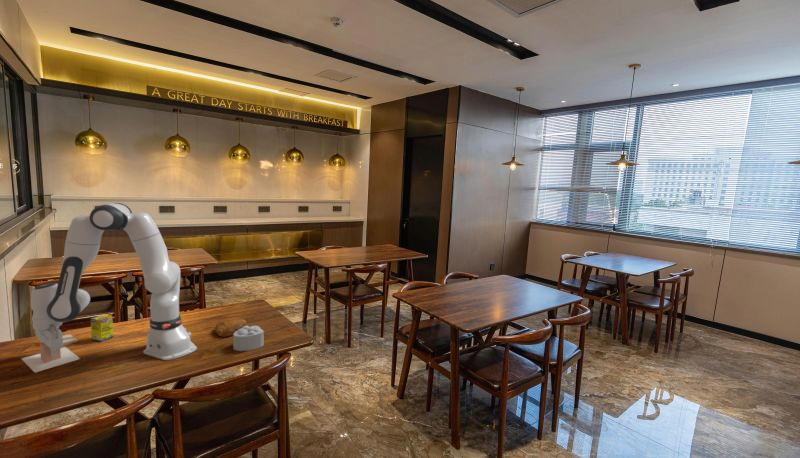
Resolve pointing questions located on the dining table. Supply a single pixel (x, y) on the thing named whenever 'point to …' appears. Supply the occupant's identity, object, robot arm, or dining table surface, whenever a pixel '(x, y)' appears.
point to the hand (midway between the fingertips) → (50, 353)
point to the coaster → (68, 339)
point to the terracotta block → (48, 353)
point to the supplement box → (102, 328)
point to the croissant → (229, 326)
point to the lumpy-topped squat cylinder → (248, 338)
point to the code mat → (40, 365)
